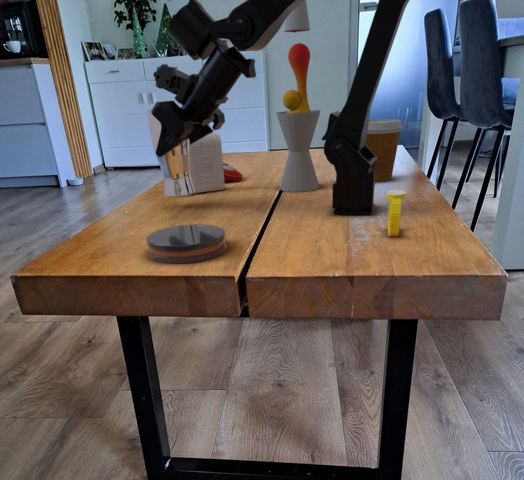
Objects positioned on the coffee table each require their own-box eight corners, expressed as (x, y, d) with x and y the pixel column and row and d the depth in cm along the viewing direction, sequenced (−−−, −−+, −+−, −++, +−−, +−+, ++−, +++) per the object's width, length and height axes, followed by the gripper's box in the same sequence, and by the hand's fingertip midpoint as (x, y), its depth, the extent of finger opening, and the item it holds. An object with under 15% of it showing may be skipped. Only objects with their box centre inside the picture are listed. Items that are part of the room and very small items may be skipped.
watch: (382, 228, 75) (385, 188, 72) (401, 228, 74) (404, 187, 71) (383, 239, 70) (386, 196, 67) (403, 239, 69) (407, 196, 66)
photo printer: (220, 187, 112) (215, 128, 106) (228, 189, 109) (223, 129, 103) (178, 193, 108) (170, 132, 102) (184, 196, 105) (176, 133, 99)
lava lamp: (309, 182, 112) (308, -6, 95) (327, 188, 104) (329, -14, 87) (272, 186, 109) (264, -5, 92) (288, 193, 102) (283, -14, 85)
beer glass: (201, 194, 92) (187, 106, 85) (164, 200, 91) (147, 111, 84) (194, 188, 98) (181, 106, 91) (160, 194, 97) (144, 110, 90)
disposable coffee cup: (353, 177, 114) (354, 120, 109) (394, 174, 114) (398, 118, 108) (358, 184, 106) (361, 124, 100) (402, 182, 106) (407, 121, 100)
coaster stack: (236, 240, 73) (235, 224, 72) (210, 264, 64) (208, 247, 63) (169, 239, 76) (166, 223, 75) (135, 262, 66) (131, 244, 65)
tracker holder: (251, 174, 118) (214, 169, 112) (246, 192, 120) (210, 188, 115) (228, 158, 126) (193, 152, 120) (224, 175, 128) (189, 170, 122)
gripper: (202, 47, 89) (159, 117, 98) (151, 42, 74) (105, 125, 83) (246, 93, 91) (199, 157, 99) (205, 97, 75) (154, 173, 84)
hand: (167, 152), depth 91 cm, fingers closed on beer glass, 7 cm apart
